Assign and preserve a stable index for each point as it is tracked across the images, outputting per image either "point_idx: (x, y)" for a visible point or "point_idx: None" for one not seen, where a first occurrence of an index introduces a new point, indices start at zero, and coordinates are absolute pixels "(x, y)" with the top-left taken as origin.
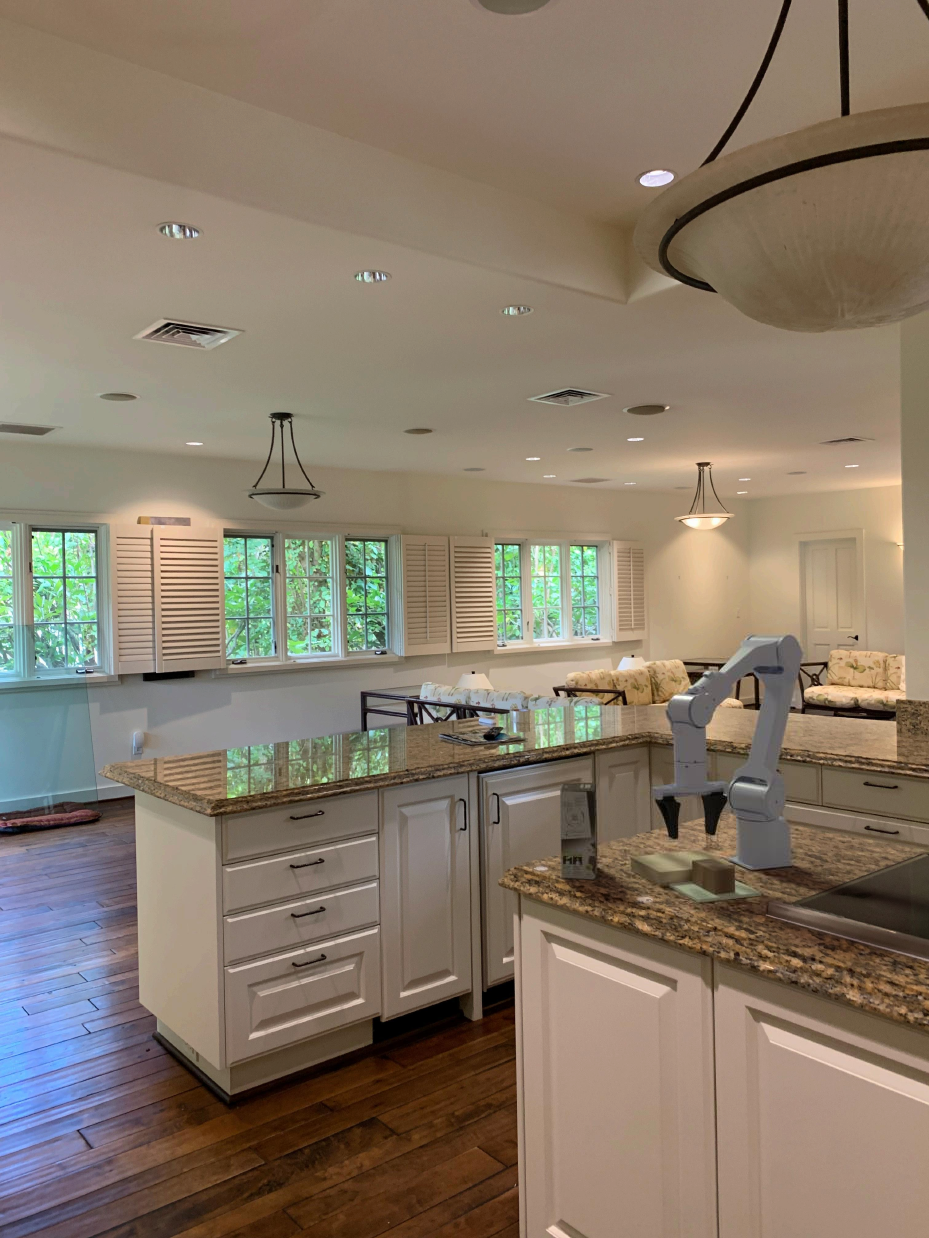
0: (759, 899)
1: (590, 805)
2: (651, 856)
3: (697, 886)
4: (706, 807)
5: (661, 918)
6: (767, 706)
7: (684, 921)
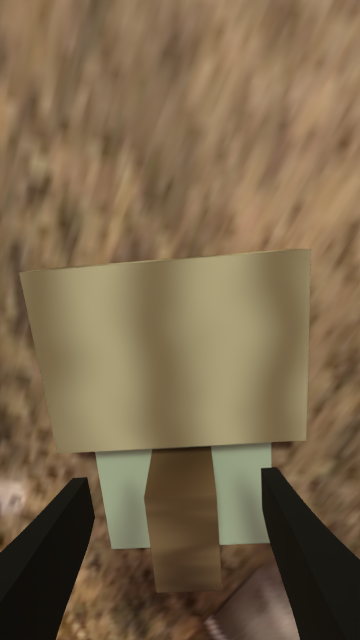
0: (250, 553)
1: None
2: (93, 285)
3: None
4: (314, 611)
5: None
6: None
7: None
